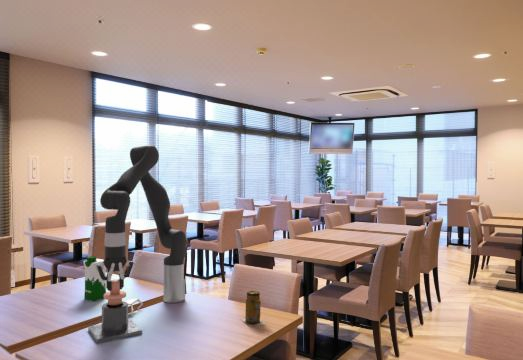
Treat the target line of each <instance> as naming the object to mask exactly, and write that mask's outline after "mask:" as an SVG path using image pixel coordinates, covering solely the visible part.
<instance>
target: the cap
mask: <svg viewBox="0 0 523 360" xmlns="http://www.w3.org/2000/svg"><path fill="white" fill-rule="evenodd" d="M126 297H127V292H126V291H124V290H121V289H120V280H119V279H111V291H106V293H105V294H104V300H107V303H108V305H119V304H121V303H122V301H123V299H125V298H126Z"/></svg>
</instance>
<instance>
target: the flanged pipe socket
mask: <svg viewBox="0 0 523 360" xmlns="http://www.w3.org/2000/svg"><path fill="white" fill-rule="evenodd" d="M124 301H125V300H122V303H121V304H119V305H108V302H105V303H103V304H102V305H101V324H96V325H91V326H88V327H87V329H88V332H89V334H90V335H91V337H92V338H93V340H94V341H95V343H96V344H101V343H106V342H112V341H116V340H120V339H125V338H130V337H134V336H139V335H143V329H141V327H139V325H137V323H136V322H134V321H133V320H132V319H131V318H129V305H128V303H127V302H124Z"/></svg>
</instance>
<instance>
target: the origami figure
mask: <svg viewBox="0 0 523 360" xmlns="http://www.w3.org/2000/svg"><path fill="white" fill-rule="evenodd" d="M123 301H124V302H127V303H128V306H130V308H131V309H130V311H131V312H130V315H131V316H133V312H134V310H135V309H134V307H133V305H134V304H135V303H136V302H138V303H139V304H140V305H139V306H138V307H137V310H138V311H141V309H140V308H141V307H142V306H143V305H144V303H143V302H142V301H141V300H140V298H135V299H134V298H133V299H127V300H123Z"/></svg>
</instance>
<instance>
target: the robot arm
mask: <svg viewBox="0 0 523 360" xmlns="http://www.w3.org/2000/svg"><path fill="white" fill-rule="evenodd" d="M129 157H130V162H131V165H132V166H131V167H130V168H128V169H126V170H125V171H124V172H123V173H122V174H121V175H120V177H119V178H118V179H117V181H116V182H115V183H114V184H112V185H110V186H109V187H108V188H106V189H105V190H103V192H102V194H101V196H100V199H99V200H100V206H101V207H102V208H103V209H104V210H108V211H109V210H111V211H112V210H114V211H115V210H116V211H117V212H116V213H115V215H109V216H107V217H106V219H105V222H104V223H105V225H104V226H105V228H104V229H105V230H104V231H105V232H104V233H105V234H104V258H103V260H104V261H103V263H101V264H99V265H98V264H97V265H96V268H97V270H98V272H99V275H100V277H101V279H102V280H106V291H107V292H110V291H111V280H112V276H113V273H115V272H117V273H118V280H120V290H123V288H124V287H125V285H124V284H125V279H126V278H129V277H130V273H131V271H132V269H133V266H134V264H135V263H134V261H132V260H128V259H127V258H126V257H127V255H126V254H127V253H126V252H127V250H126V249H127V248H126V247H127V246H126V245H127V238H126V220H127V219H126V218H127V215H128V211H129V208H130V205H131V196H130V195H131V194H132V193H133V192H134V190H135V189H136V187H137V186H138V184H139V182H140V183H141V186H142V189H143V192H144V195H145V197H146V200H147V203H148V206H149V209H150V210H151V214H152V217H153V219H154V222H155V225H156V230H157V233H158V238H159V242H160V244H161V246H162V247H163V248H165V249H168V250H170V254H169V255H167V256H165V257H164V258H163V297H162V298H163V302H165V303H169V304H171V303H175V304H176V303H180V302H182V301H185V300H186V279H185V278H184V275H185V274H184V271H185V269H184V264H185V263H184V262H185V258H186V251H187V236H186V234H185V232H184V231H183V230H181V229H173V228H172V226H171V222H170V218H169V216H170V215H169V214H170V209H171V202H170V198H169V195H168V193H167V190H166V188H165V187H164V185H162V184H161V183H160V182H159V181H158V180H156V179H155V178H154V177H153V175H151V173H150V172H149V171H151V170H152V169H153V168H154V167H155V166H156V165H157V164H158V162H159V160H160V159H159V158H160V154H159V151H158V149H157V147H156V146H155V145H152V144H146V145H140V146H136V147H135V146H134V147H132V148H131V149H130V152H129ZM104 265H105V267H106V276H105V275H104V273H103V266H104ZM125 265H126V267H125ZM124 267H125V271H124Z"/></svg>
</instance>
